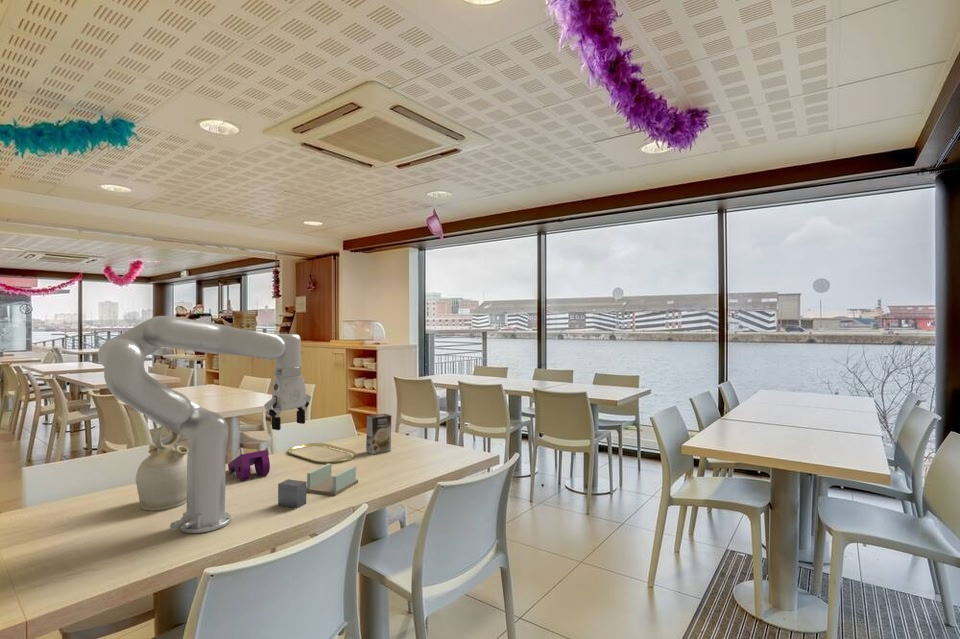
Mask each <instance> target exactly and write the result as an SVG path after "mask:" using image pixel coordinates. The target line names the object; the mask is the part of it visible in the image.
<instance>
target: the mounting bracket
mask: <svg viewBox="0 0 960 639" xmlns="http://www.w3.org/2000/svg"><path fill="white" fill-rule="evenodd" d="M270 463H271V462H270V458H269V451H268V449H262V450H258V451H253V452H247V453H242V454H239V455H238V456H237V457H236V458H234V459H233V460H231V461H229V462H228V463H227V466H228V467H227V468H228V471H235V472H234V473H235V475H236V478H237V480H239V481H244V480H248V479H249V478H250V476H251V466H254V469H255V473H256V474H257V476H259V477H263V476H268V475H269V473H270V471H271V469H270V468H271V464H270Z"/></svg>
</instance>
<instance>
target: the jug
mask: <svg viewBox="0 0 960 639" xmlns="http://www.w3.org/2000/svg"><path fill="white" fill-rule="evenodd" d="M167 430H168V429H166V428H165V427H163V426H161V425H160V427H158V429H156V431H155V432H154V435H153V443H151V444H149V447H148V448H149V449H148V453H149V455H148V456H147V457H146V458H145V459H143V460H142V461H141V463H140V464H139V466H138V468H137V471H136V476H135V483H136V484H135V485H136V491H137V494H138V500H139V503H140V505H141V509H142V510H145V511H151V512H152V511H153V512H154V511H155V512H156V511H157V512H158V511H163V510H164V511H165V510H170V509H173V508H177V506H178V507H181V506H182V505H184V504H187V457H188V451H189V447H187V446H185V445H180V444H179V445H177V446H176V447H175V445H176V444H177V443H178V441H179V438H180V435H178V434H176V433H174V432H172V431H171V433H172V435H171V438H170V440H169V441H168V442H166V443H165V444H163V443H162V436H163V434H164V432H166V431H167Z"/></svg>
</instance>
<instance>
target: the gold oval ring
mask: <svg viewBox="0 0 960 639" xmlns="http://www.w3.org/2000/svg"><path fill="white" fill-rule="evenodd" d="M312 446H326V447H331V448H335V449H339V450H343V451H346V452H349V453H352V454H353V457H352V456H351V457H348V458H344V459H340V460H326V461H325V460H323V461H322V460H316V459H312V458H309V457H306V456H303V455H300V454H297V453H293V452H294V451H296V450H300V449H305V448H313V447H312ZM292 451H293V452H292ZM287 452H288V453H289V454H290V455H292V456H293V457H294V456H295V457H297V456H298V458H300V457H301V459H303V458H304V460H306V459H307V461H309V462H310V461H311V462H313V461H314V462H313V463H316V462H318V463H317V464H323V463H331V464H338V463H337V462H340V463H344V462H343V461H345V462H348V461H351V460H352V459H354V458H355V457H356V455H357V454H356V451H354V450H350V449H347V448H344V447H339V446H336V445H332V444H328V443H321V442H320V443H319V442H315V443H313V442H312V443H303V444H297V445H295V446H292V447H289V448H288V450H287ZM350 459H351V460H350ZM347 460H348V461H347Z"/></svg>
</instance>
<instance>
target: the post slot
mask: <svg viewBox="0 0 960 639" xmlns="http://www.w3.org/2000/svg"><path fill="white" fill-rule="evenodd" d="M306 478H307V479H306V482H307V484H306V493H311V494H319V495H326V496H333V497H335V496H337V495H339V494H341V493H342V492H344V491H346V490H348V489H350V488H351V487H353V486H355V485H356V484H358V483H359V479H357V466H355V465H353V466H350V467H348V468H346V469H345V470H343V471H341V472H339V473H337V474H335V475H333V476H332V463H331V464H330V463H328V464H324V465H322V466H319V467H318V468H316V469H313V470H311V471H309V472H307V474H306Z"/></svg>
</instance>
